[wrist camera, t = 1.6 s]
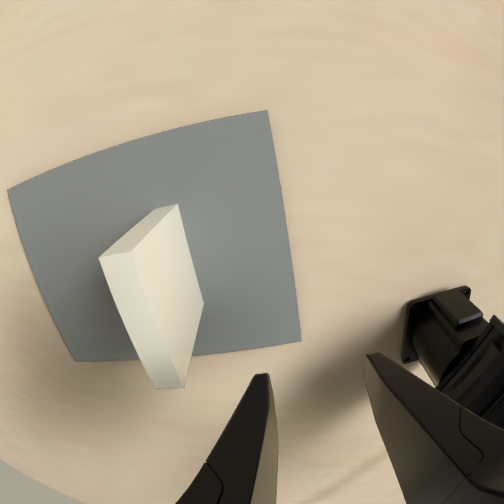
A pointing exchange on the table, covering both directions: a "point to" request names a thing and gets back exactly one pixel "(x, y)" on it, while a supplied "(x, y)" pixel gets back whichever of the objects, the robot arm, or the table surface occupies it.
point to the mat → (195, 226)
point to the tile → (157, 294)
